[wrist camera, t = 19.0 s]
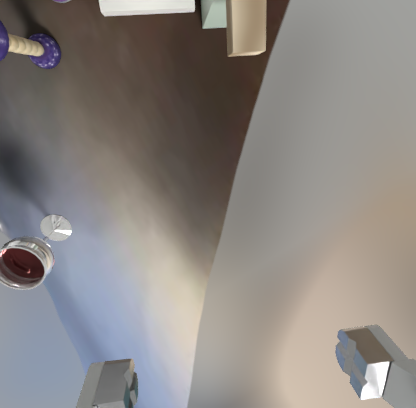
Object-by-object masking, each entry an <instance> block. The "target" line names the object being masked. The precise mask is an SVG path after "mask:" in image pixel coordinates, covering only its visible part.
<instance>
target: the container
mask: <svg viewBox="0 0 416 408" xmlns="http://www.w3.org/2000/svg"><path fill="white" fill-rule="evenodd" d="M53 1H56V2H59V3H65V2H68V1H70V0H53Z"/></svg>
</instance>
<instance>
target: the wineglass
mask: <svg viewBox="0 0 416 408" xmlns="http://www.w3.org/2000/svg"><path fill="white" fill-rule="evenodd" d="M40 227H41V231H42V233H43V234H44V235H45V236H46V237H45V238H44V239H43V240H42V239H40V238H37V237H34V236H22V237H18V238H15V239H13V240H11V241H9V242H8V243H6V244H5V245H4V246H3V247H2V249H1V250H0V282H1V283H2V284H4V285H6V286H8V287H10V288H14V289H17V290H28V289H31V288H35V287H36V286H38V285H40V284H41V283H42V282H43V280H44V279H45V277H46V276H47V275H48V274H49V273H50V271H51V270H52V268H53V265H54V252H53V250H52V248H51V246H50V245H49V244H48V243H47V241H48V239H51V240H54V241H62V240H65V239H67V238H68V237H69V236H70V234H71V231H72V230H71V225H70V223H69V222H68V221H67V219H65V218H64V217H62V216H59V215H49V216H46V217H45V218H44V219H43V220H42V221H41V225H40Z"/></svg>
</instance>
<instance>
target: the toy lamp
mask: <svg viewBox="0 0 416 408" xmlns="http://www.w3.org/2000/svg"><path fill="white" fill-rule="evenodd" d="M8 51H11V52H15V53H21V54H27V55H28V56H29V58H30V59H31V60H32V62H33V63H35V64H36V65H37V66H39V67H41V68H44V69H50V68H54V67H55V66H57V64H58V63H59V62H60V59H61V51H60V48H59V45H58V44H57V42H56V41H55V40H54V39H53V38H51V37H50V36H48V35H46V34H42V33H38V34H34V35H32V36H31V37H29V39H25V38H22V37H18V36H15V35H11V34H8V33H7V30H6V28H5V27H4V25H3V23H2V22H1V21H0V61H1V60H2V59H4V58H5V56H6V55H7V53H8Z"/></svg>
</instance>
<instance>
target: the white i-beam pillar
mask: <svg viewBox="0 0 416 408" xmlns="http://www.w3.org/2000/svg"><path fill="white" fill-rule="evenodd" d="M99 4H100V10H101V13H102V14H103V15H104V16H120V15H141V14H162V13H183V12H194V10H195V0H99Z"/></svg>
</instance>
